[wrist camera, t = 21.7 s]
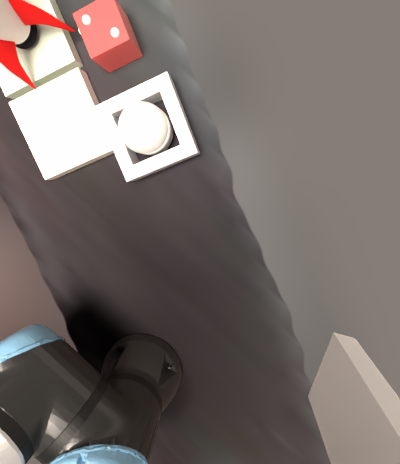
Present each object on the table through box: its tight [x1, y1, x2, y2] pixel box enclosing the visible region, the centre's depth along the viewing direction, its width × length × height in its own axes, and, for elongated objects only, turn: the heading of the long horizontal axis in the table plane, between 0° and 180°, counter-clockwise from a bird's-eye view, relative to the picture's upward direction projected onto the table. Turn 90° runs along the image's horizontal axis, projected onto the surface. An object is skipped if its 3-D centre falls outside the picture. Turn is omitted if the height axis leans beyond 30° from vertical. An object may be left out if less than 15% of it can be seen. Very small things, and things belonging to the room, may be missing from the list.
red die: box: [73, 0, 143, 73], centre depth 41 cm, size 7×7×7 cm
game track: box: [0, 0, 114, 180], centre depth 46 cm, size 27×13×2 cm, turn 21°
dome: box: [118, 101, 173, 155], centre depth 42 cm, size 7×7×8 cm
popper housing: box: [95, 72, 200, 182], centre depth 45 cm, size 12×12×4 cm
